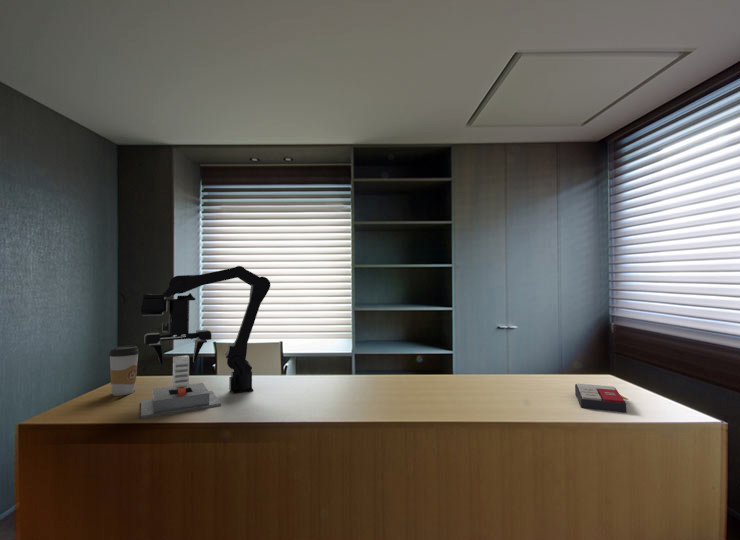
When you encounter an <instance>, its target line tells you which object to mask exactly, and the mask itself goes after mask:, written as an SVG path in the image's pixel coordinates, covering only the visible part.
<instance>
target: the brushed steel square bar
mask: <svg viewBox="0 0 740 540" xmlns="http://www.w3.org/2000/svg"><path fill="white" fill-rule="evenodd" d="M189 384H190V356H189V355H178V356H177V355H175V356H172V387H173V390H177V389H178V388H189Z"/></svg>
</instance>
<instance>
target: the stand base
mask: <svg viewBox="0 0 740 540" xmlns="http://www.w3.org/2000/svg"><path fill="white" fill-rule="evenodd" d="M221 406H222V403H221V401H220V400H219V398H218V397H217V395H216V394H215V393H214V392H213V390H208V388H207V386H205V384H204V383H203V382H199V383H197V382H196V383H189V388H178V389H177V390H173V386H167V387H158V388H152V398H149V399H142V400H140V419H141V420H143V419H148V418H154V417H159V416H167V415H172V414H179V413H185V412H191V411H197V410H205V409H209V408H215V407H216V408H217V407H221Z"/></svg>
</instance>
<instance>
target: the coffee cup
mask: <svg viewBox="0 0 740 540" xmlns="http://www.w3.org/2000/svg"><path fill="white" fill-rule="evenodd" d="M139 351H140V350H139V349H138V346H136V345H123V346H115V347H111V348H110V351H109V353H108V354H109V355H108V356H109V364H110V365H109V367H110V369H109V371H110V385H111V388H110V389H111V394H112V396H117V397H118V396H127V395H131V394H133V393H134V391H135V390H136V382H137V373H138V360H139V353H140V352H139Z"/></svg>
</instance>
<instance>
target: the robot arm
mask: <svg viewBox="0 0 740 540" xmlns="http://www.w3.org/2000/svg"><path fill="white" fill-rule="evenodd" d="M232 279H239V280H241V281H243V282H244V283H245V284H247V285H249V286H250V290H249V299H248V304H247V306H246V309H245V313H244V316H243V318H242V320H241V325H240V326H239V327H240V328H239V329H238V332H237V336H236V339H235V340H234V342H233V343H228V346H227V350H226V353H225V354H224V355H225V358H226V359H225V360H226V365H227V366H228V368H229V369H231V370H233V371H231V373H230V376H229V378H228V379H229V382H228V387H229V388H228V389H229V391H231V392H232V393H233V394H239V393H240V394H241V393H246V392H252V391H253V392H254V388H253V371H252V369H253V367H252V365H251V363H250V362H249V361H248V360H247V351H248V349H247V348H248V342H249V339H250V337H251V334H252V330H253V327H254V325H255V321H256V318H257V315H258V313H259V309H260V307H261V304H262V303H263V301H264V300H265V298H266V296H267V294H268V292H269V290H270V289H271V281H270V280H269V278H267V277H266V276H259V275H257V274H256V273H254V272H251V271H249V270H248V269H246V268H245V267H243V266H242V265H237V266H234V267H231V268H226V269H220V270H216V271H211V272H207V273H202V274H187V275H186V274H185V275H182V274H181V275H176V276H173V277H171V279H170V280H169V283H168V285H169V287H168V288H166V290H165V291H163V294H160V293H159V294H151V293H143V295H142V296H143V297H142V302H141V306H140V312H141V316H142V317H145V316H146V317H148V316H149V317H150V316H152V317H153V316H163V315H164V313H167V312H169V313H168V321H162V322H161V332H162V333H167V334H160V332H150V333H149V332H148V333H146V334H144V339H143V340H144V341H143V342H144V345H149V348H154V350H155V351H156V355H157V357H158V360H159V363H160V366H161V367H163V364H164V359H163V358H164V357H163V351H162V344H161V342H162V341H175V340H176V341H177V340H190V339H195V340H194V349H193V358H192V362H193V363H196V361H197V358H198V355H199V353H200V350H201V349H202V347H203V345H204V344H206V343H208V341H209V340H212V334H213V333H212V332H211V330H208V329H197V330H196V332H190V301H196V299H197V298H196V297H195V296H193V294H192V293H190V292H189V291H193V290H194V289H198V288H200V287H202V286H206V285H210V284H214V283H220V282H225V281H228V280H232ZM187 292H189V293H188V294H187V295H184V293H187ZM176 294H177V298H171V297H173V296H175V295H176ZM178 294H183V295H178ZM168 302H169V304H168ZM168 305H169V309H168Z"/></svg>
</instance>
